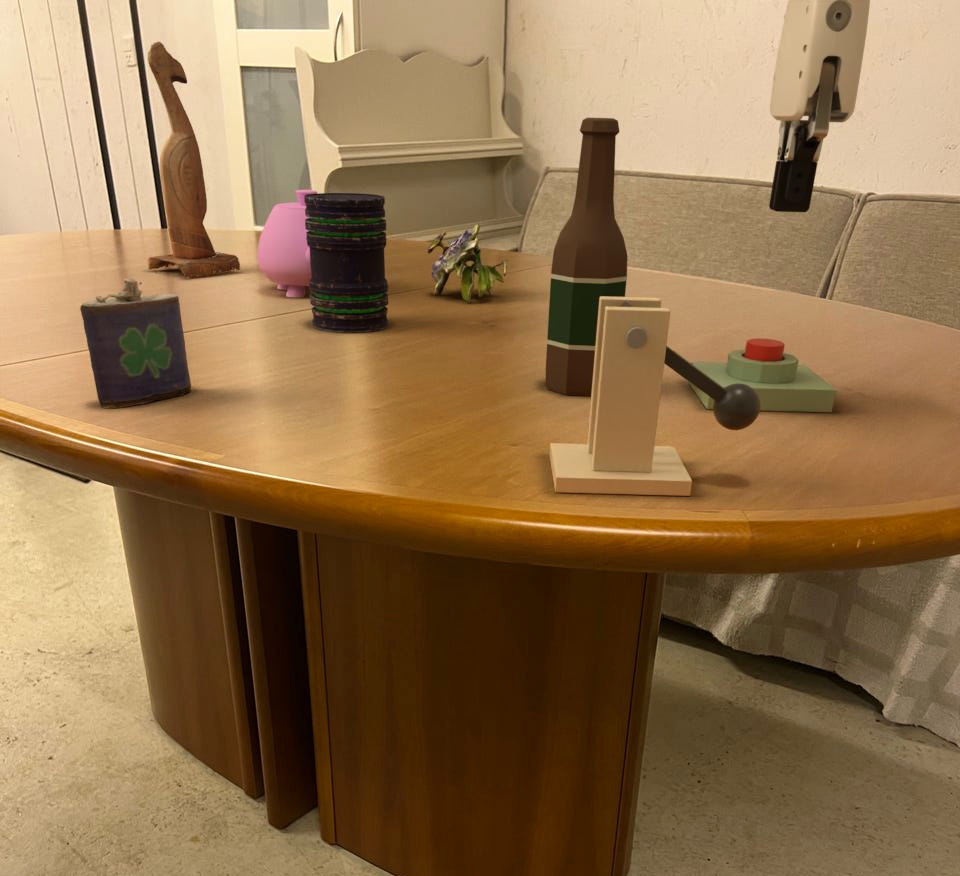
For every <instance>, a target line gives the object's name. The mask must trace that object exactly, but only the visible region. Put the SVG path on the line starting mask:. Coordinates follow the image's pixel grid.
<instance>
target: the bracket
mask: <svg viewBox="0 0 960 876" xmlns="http://www.w3.org/2000/svg"><path fill="white" fill-rule="evenodd" d="M624 301H626V302H627V303H628V304H630V305H631V306H632V307H621V305H622V304H623V302H624ZM670 319H671V310H670V308H668V307H662V299H661V298H659V297H643V296H642V297H637V296H625V297H607V296H601V297H600V298H599V310H598V322H597V334H596V346H595V358H594V370H593V382H592V394H591V396H590V408H589V417H588V418H589V419H588V430H587V431H588V432H587V441H586V443H560V442H559V443H557V442H551V443H550V445H549V449H550V450H549V461H550V468H551V474H552V480H553V481H552V482H553V486H554V492H555V493H568V494H601V495H602V494H606V495H638V496H639V495H642V496H643V495H645V496H681V497H689V496H691V491H692V485H693V480H692V478H691V476H690V474H689V472H688V470H687V468H686V467H685V465H684V463H683V461H682V459H681V457H680V455H679V453H678V451H677V450H676V448H675V446H674V445H673V446H669V445H655V444H656V437H657V427H658V418H659V411H660V402H661V393H662V387H663V377H664V368H665V364H664V362H665V353H666V345H667V344H668V337H669V327H670ZM667 346H668V345H667Z"/></svg>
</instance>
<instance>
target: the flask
mask: <svg viewBox="0 0 960 876" xmlns="http://www.w3.org/2000/svg"><path fill="white" fill-rule="evenodd" d="M123 282H124V287H123V288H122V290H121V291H119V292H117V294H107V296H103V297H102V296H100V295H99V294H98V295H96V296H95V300H94V299H93V300H89V301H87V302H83V303H82V304H81V305H80V306H79V307H80V308H79V310H80V313H81V317H82V321H83V322H82V323H83V329H84V334H85V337H86V343H87V348H88V352H89V359H90V365H91V366H90V367H91V369H92V374H93V378H94V379H93V381H94V384H95V390H96V394H97V395H96V396H97V400H98V402H99V405H98V406H99V407H101V408H103V409H105V408H106V409H110V408H113V409H117V408H123V407H129V406H135V405H140V404H141V405H143V404H147V403H150V402H154V401H155V400H165V399H169V398H170V399H171V398H174V397H177V396H184V395H185V394H186V393H191V389H192V382H191V377H190V370H189V365H188V358H187V357H188V356H187V351H186V350H187V349H186V341H185V340H186V339H185V333H184V328H183V323H182V314H181V305H180V298H179V296H178V294H174V293H158V294H157V293H156V294H151V295H143V296H141V295H142V293H143V290H141V289H139V285H142V283H143V282H142V281H139V282H138V281H137V280H136V279H135V278H124V279H123ZM109 298H113V299H109Z"/></svg>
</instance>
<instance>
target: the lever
mask: <svg viewBox="0 0 960 876" xmlns="http://www.w3.org/2000/svg"><path fill="white" fill-rule="evenodd" d="M621 307H632V306H631V305H630V304H628V303H627V302H626V301H624V302H623V304H622V305H621ZM664 365H665V366H667V367H668V368H669V369H671V370H672V371H674V372H675V373H677V374H678V375H680V377H682V378H683V379H685V380H686V381H687V382H688V381H689V382H690V383H692V384H693V385H694V386H696V387H697V388H699V389H700V390H701V391H703V392H704V393H705V394H707V395H708V396H709V397H711V398H712V399H714V400H715V401H714V405H713V409H712V410H713V416H714V418H715V420H716V422H717V423H718V424H719V425H720V426H721V427H723V428H724V429H726V430H731V431H740V430H744V429H747V428H748V427H750V426H752V425H753V423H754V422H755V421H756V420H757V419H758V417H759V415H760V399H759V396H758V394H757V392H756V391H755V390H754V389H753V388H752V387H750V386H748V385H746V384H742V383H735V384H731V385H728V386H726V387H725V388H723V387H722V386H721V385H719V384H718V383H717V382H715V381H714V380H713V379H711V378H710V377H709V376H707V375H706V374H704V373H703V372H702V371H700V370H699V369H698V368H696V367H695V366H694V365H692V364H691V361H689V360H687V359H686V358H684V357H683V356H682V355H680V354H678V353H677V352H676V351H675V350H673V349H672V348H671V347H669V346H668V345H666V353H665V362H664Z"/></svg>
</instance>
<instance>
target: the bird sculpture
mask: <svg viewBox="0 0 960 876" xmlns="http://www.w3.org/2000/svg"><path fill="white" fill-rule="evenodd" d="M147 62H148V66H149V68H150V71H151V73H152V75H153V77H154V80H155V81H156V84H157V87H158V90H159V93H160V95H161V99H162V102H163V103H164V107H165V109H166V113H167V118H168V121H169V125H170V129H171V130H170V131H171V132H170V134H169V135H168V137H167V138H166V140H165V142H164V143H163V146H162V149H161V153H160V156H159V175H160V182H161V190H162V196H163V197H162V198H163V199H162V200H163V205H164V211H165V217H166V224H167V229H168V236H169V240H170V245H171V251H172V253H171V254H166V255H157V256H156V255H155V256H151V257H148V258H147V265H148V267H147V269H148V270H150V271H151V270H159V269H162V268H164V267H165V268H170V267H175V266H177V267H178V268H179V270H180V271H181V273H182V274H183V277H185V279H187V276H188V277H189V278H190V279H192V277H194V276H195V277H196V278H197V277H199V278H200V277H201V276H202V275H203V276H209V275H211V274H212V275H216V274H222V273H226V272H228V273H229V272H232V271H234V272H235V271H239V270H241V263H240V259H239V258H238V256H237V255H235V254H228V253H224V252H220V251H216V250H215V249H214V246H213V243H212V241H211V238H210V236H209V234H208V232H207V229H206V228H205V225H204V220H205V217H206V215H207V210H208V199H207V191H206V183H205V177H204V168H203V162H202V158H201V152H200V148H199V147H200V145H199V143H198V140H197V137H196V134H195V130H194V128H193V126H192V123H191V120H190V118H189V116H188V114H187V112H186V110H185V108H184V105H183V103H182V101H181V98H180V96H179V94H178V92H177V90H176V88H175V86H174V83H175V82H176V83H177V82H178V83H179V84H185V85H187V84H188V79H187V75H186V72H185V69H184V67H183V65H182V64H181V62H179V60H177V59H175V58H174V57H173V56H172V55H171V53H169V52H168V51H167V49H166V47H165V45H164V44H163V43H162V42H161V41H156V42H153V43H152V44H150V49H149V51H148V52H147Z"/></svg>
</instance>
